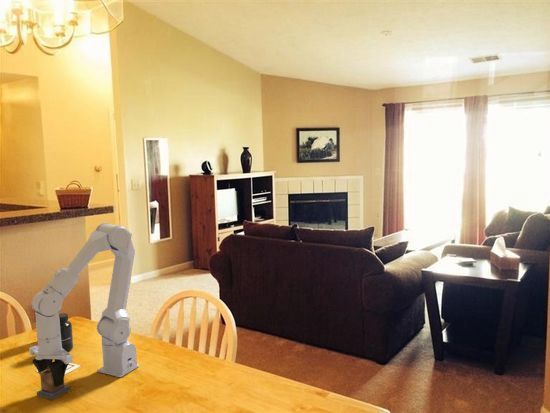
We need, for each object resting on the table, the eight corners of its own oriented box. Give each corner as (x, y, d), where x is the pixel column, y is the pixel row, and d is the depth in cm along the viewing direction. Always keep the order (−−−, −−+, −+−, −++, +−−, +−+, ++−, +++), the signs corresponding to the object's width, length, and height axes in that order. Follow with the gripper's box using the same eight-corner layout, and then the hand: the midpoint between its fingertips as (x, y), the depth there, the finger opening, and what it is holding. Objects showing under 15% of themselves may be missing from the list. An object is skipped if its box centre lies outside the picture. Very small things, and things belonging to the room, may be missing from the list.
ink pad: (70, 389, 128) (70, 385, 128) (52, 400, 123) (51, 396, 123) (55, 385, 131) (55, 381, 131) (36, 395, 125) (36, 391, 125)
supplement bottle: (67, 354, 151) (64, 319, 149) (47, 354, 151) (44, 319, 150) (77, 345, 158) (74, 311, 156) (57, 345, 158) (54, 311, 156)
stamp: (64, 386, 128) (62, 365, 127) (52, 393, 124) (50, 371, 123) (54, 384, 129) (52, 362, 128) (41, 390, 126) (39, 368, 125)
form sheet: (81, 366, 142) (81, 365, 142) (59, 377, 135) (59, 377, 135) (58, 360, 147) (58, 359, 147) (35, 371, 140) (35, 370, 140)
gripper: (17, 337, 124) (22, 384, 126) (54, 345, 118) (59, 396, 120) (40, 327, 131) (44, 373, 132) (77, 335, 124) (81, 383, 126)
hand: (53, 383), depth 126 cm, fingers closed on stamp, 4 cm apart
